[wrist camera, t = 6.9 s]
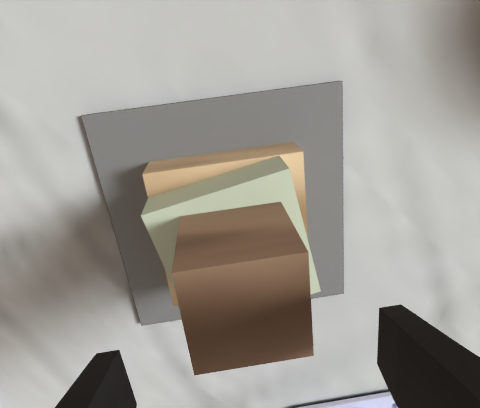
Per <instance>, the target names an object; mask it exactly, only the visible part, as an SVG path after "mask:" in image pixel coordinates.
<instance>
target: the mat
mask: <svg viewBox="0 0 480 408" xmlns="http://www.w3.org/2000/svg"><path fill="white" fill-rule="evenodd" d="M81 117H82V120H83V124H84V127H85V131H86V134H87V138H88V141H89V145H90V148H91V152H92V155H93V159H94V162H95V166H96V169H97V173H98V176H99V180H100V183H101V187H102V190H103V194H104V197H105V201H106V204H107V208H108V211H109V215H110V218H111V221H112V225H113V228H114V232H115V235H116V239H117V242H118V246H119V249H120V253H121V256H122V260H123V263H124V267H125V270H126V274H127V277H128V281H129V284H130V288H131V291H132V295H133V298H134V302H135V305H136V309H137V312H138V316H139V319H140V323H141V326H143V325H149V324H156V323H162V322H168V321H174V320H181V319H182V318H181V314H180V309H179V306H173V302H172V298H171V294H170V289H169V285H168V281H167V277H166V273H165V268H164V265H163V263H162V261H161V259H160V257H159V254H158V252H157V250H156V248H155V246H154V244H153V241H152V239H151V237H150V235H149V233H148V230H147V228H146V226H145V224H144V222H143V220H142V217H141V214H142V211H143V209H144V206H145V204H146V202H147V199H148V196H147V192H146V188H145V184H144V179H143V175H142V174H143V172H144V170H145V168H146V166H147V165H148V163H149V162H151V161H159V160H166V159H173V158H180V157H187V156H194V155H201V154H209V153H216V152H223V151H230V150H237V149H244V148H252V147H259V146H266V145H273V144H280V143H287V142H294V143H295V144H296V145H297V146H298V147H299V148H300V149H301V150H302V151H303V155H304V175H305V194H306V214H307V234H308V243H309V247H310V251H311V254H312V258H313V262H314V266H315V270H316V274H317V278H318V282H319V286H320V290H321V291H320V292H317V293H314V294H311V299H313V298H319V297H325V296H331V295H338V294H344V241H343V87H342V81H335V82H328V83H320V84H313V85H305V86H298V87H290V88H283V89H275V90H268V91H260V92H253V93H245V94H238V95H230V96H223V97H215V98H208V99H200V100H193V101H185V102H178V103H170V104H163V105H155V106H148V107H140V108H133V109H125V110H118V111H110V112H103V113H95V114H88V115H82V116H81Z"/></svg>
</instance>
